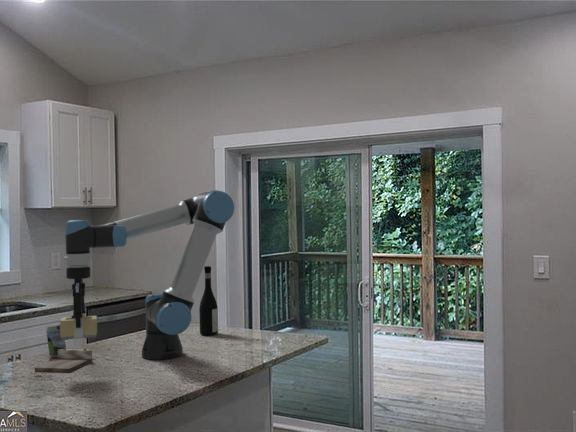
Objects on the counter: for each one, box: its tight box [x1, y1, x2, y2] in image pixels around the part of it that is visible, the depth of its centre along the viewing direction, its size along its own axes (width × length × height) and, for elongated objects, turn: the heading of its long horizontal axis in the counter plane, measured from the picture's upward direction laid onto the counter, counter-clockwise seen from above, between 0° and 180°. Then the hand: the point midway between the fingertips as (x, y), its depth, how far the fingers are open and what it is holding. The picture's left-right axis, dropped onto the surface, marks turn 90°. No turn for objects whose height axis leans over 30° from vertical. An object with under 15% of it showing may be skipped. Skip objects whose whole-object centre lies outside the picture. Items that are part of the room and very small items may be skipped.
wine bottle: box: [198, 265, 219, 337], centre depth 259 cm, size 8×8×30 cm
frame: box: [59, 315, 98, 340], centre depth 195 cm, size 11×7×6 cm, turn 105°
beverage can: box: [45, 323, 67, 358], centre depth 222 cm, size 6×7×12 cm
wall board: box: [34, 347, 93, 373], centre depth 207 cm, size 13×15×5 cm
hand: (79, 335), depth 195 cm, fingers closed on frame, 7 cm apart
